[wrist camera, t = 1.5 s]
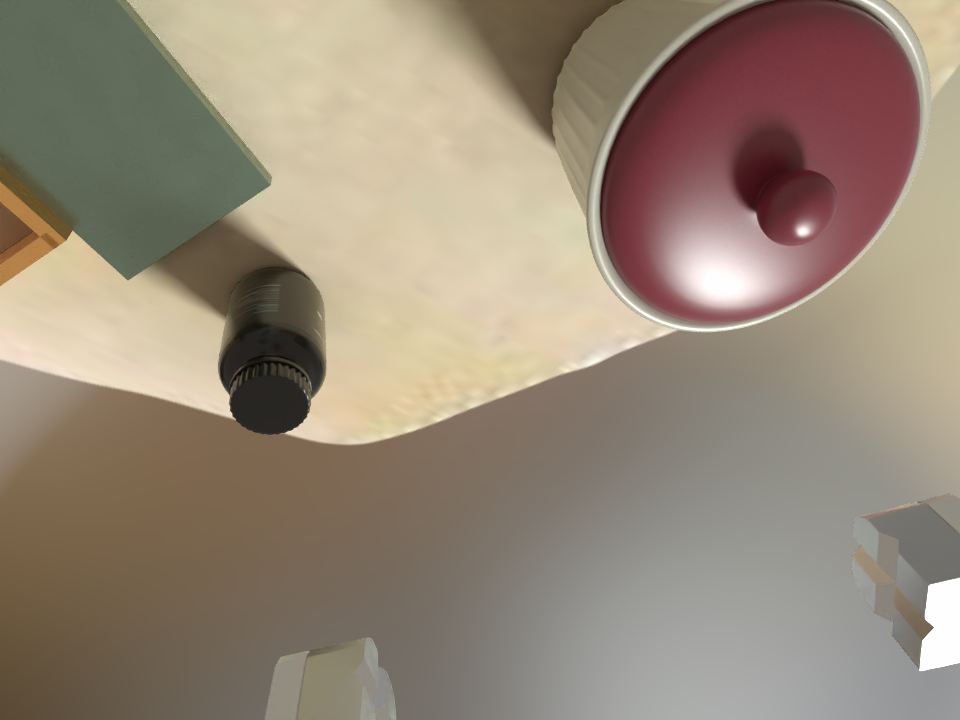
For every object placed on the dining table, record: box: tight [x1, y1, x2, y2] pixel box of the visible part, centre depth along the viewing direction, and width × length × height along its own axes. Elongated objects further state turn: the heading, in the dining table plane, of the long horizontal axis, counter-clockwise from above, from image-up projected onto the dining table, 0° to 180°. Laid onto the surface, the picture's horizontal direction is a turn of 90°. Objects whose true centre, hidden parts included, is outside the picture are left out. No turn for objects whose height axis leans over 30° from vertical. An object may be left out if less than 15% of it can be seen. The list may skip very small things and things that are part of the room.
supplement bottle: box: [218, 268, 326, 435], centre depth 47 cm, size 7×7×12 cm
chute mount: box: [0, 0, 272, 286], centre depth 41 cm, size 20×22×3 cm
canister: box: [551, 0, 931, 332], centre depth 39 cm, size 18×18×21 cm
